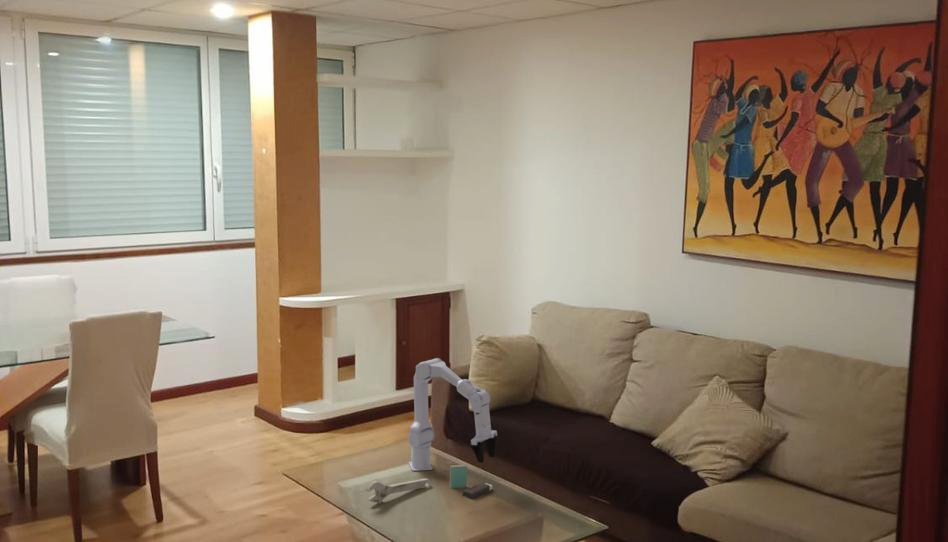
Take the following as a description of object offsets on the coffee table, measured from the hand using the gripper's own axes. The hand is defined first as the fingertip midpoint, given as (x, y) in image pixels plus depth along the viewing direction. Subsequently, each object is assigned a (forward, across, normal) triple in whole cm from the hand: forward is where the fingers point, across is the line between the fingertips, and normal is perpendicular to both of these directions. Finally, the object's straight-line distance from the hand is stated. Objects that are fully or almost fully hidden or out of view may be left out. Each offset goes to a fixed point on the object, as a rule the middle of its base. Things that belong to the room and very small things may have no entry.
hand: (486, 459), depth 302 cm
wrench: (+8, -26, +22) cm, 35 cm away
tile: (+5, -6, +9) cm, 12 cm away
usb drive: (+11, -6, +1) cm, 13 cm away
